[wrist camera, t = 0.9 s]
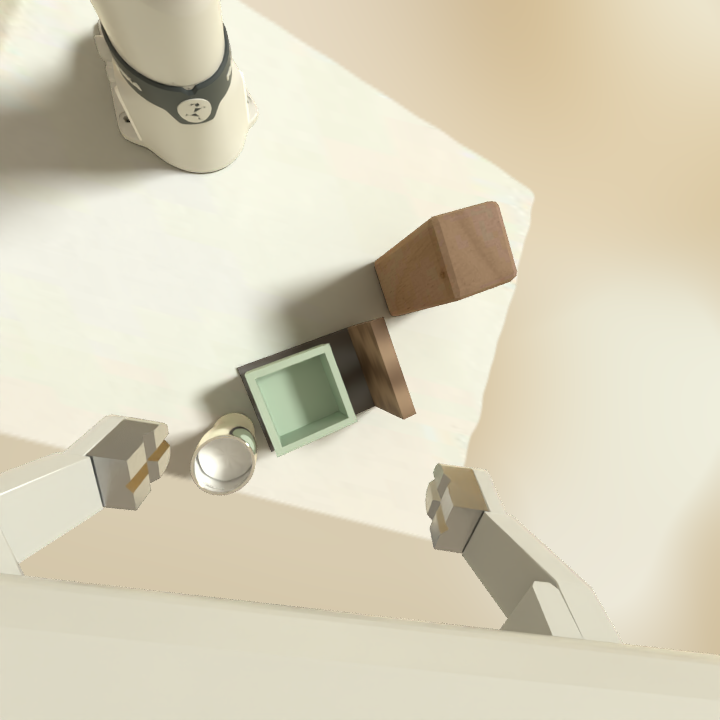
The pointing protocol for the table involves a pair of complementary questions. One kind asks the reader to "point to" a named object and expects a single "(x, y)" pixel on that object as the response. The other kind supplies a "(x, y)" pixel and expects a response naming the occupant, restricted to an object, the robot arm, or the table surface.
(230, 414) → the beer glass
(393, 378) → the box
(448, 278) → the wooden block
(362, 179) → the table surface
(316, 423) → the sage green storage bin
